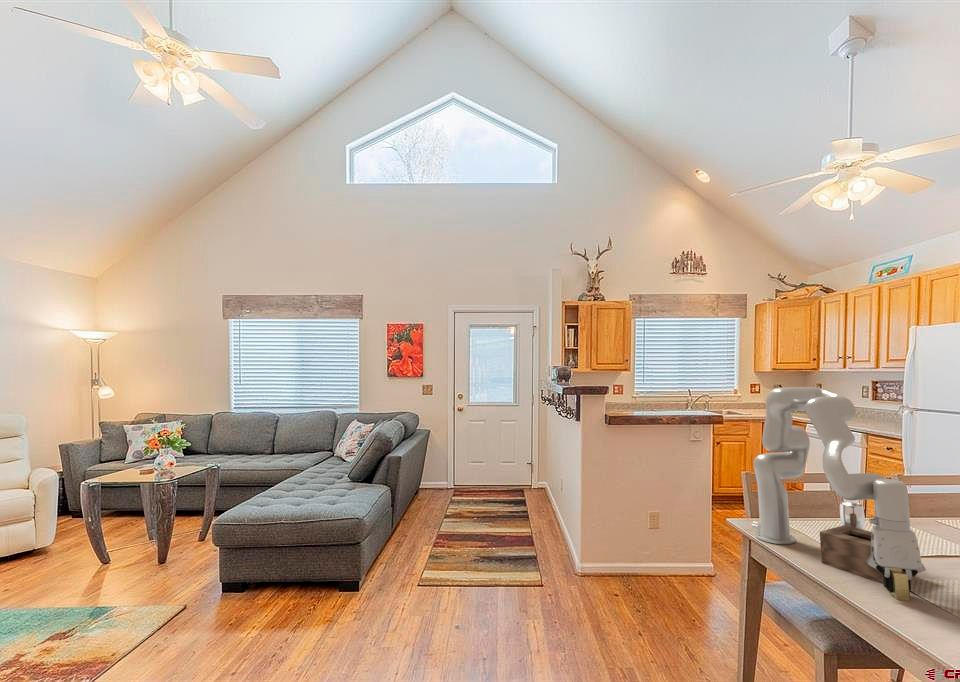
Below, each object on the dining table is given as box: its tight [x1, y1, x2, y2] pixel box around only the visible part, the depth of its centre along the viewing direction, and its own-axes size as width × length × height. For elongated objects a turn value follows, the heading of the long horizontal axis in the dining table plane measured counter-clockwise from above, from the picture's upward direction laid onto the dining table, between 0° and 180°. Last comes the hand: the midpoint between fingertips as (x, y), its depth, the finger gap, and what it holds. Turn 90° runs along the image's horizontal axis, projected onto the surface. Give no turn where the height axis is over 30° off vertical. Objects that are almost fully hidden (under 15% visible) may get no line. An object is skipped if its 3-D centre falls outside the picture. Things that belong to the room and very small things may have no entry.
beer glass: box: [839, 501, 866, 530], centre depth 170 cm, size 7×7×15 cm
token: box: [885, 568, 911, 602], centre depth 134 cm, size 6×3×7 cm, turn 159°
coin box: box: [819, 525, 883, 584], centre depth 152 cm, size 18×14×10 cm
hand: (897, 590), depth 134 cm, fingers closed on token, 3 cm apart
